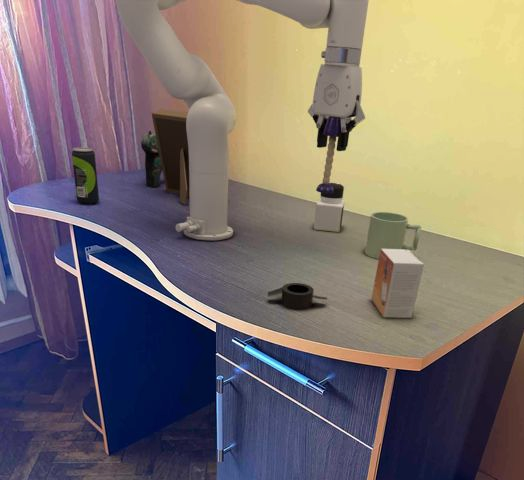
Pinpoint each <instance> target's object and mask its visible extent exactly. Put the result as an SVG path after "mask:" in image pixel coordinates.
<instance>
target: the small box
mask: <svg viewBox="0 0 524 480" xmlns="http://www.w3.org/2000/svg"><path fill="white" fill-rule="evenodd" d="M424 266H425V263H423V262H422V261H420V260H419V258H418V257H417V256H415V255H414V254H413V252H412V251H411V250H404V249H381V250H380V256H379V259H378V262H377V268H376V273H375V277H374V282H373V289H372V294H371V299H370V300H371V301H372V302H373V304H374V305H375V307H376V309H377V310H378V312H379V313H380V315H381V317H382V318H403V319H411V318H412V317H413V314H414V309H415V305H416V301H417V297H418V292H419V287H420V284H421V279H422V274H423V271H424V268H425V267H424Z"/></svg>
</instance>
